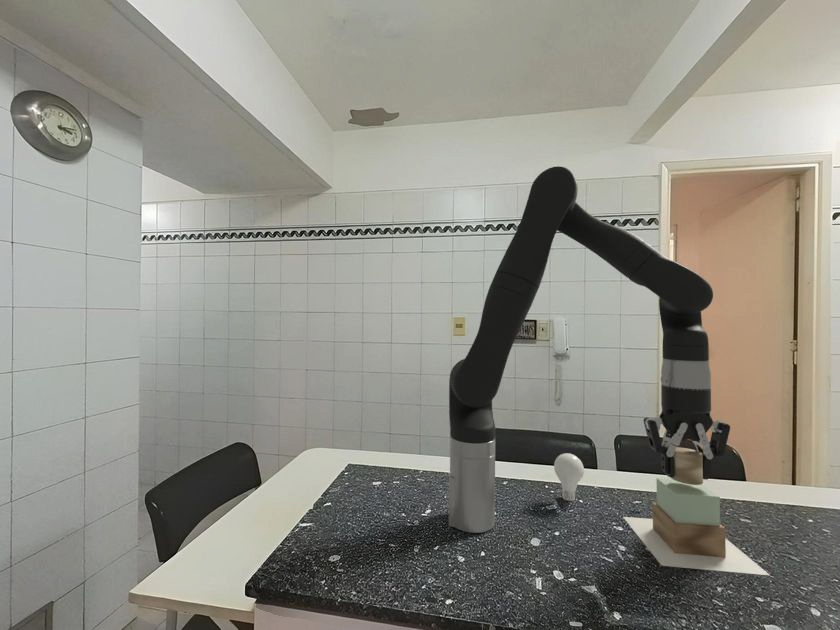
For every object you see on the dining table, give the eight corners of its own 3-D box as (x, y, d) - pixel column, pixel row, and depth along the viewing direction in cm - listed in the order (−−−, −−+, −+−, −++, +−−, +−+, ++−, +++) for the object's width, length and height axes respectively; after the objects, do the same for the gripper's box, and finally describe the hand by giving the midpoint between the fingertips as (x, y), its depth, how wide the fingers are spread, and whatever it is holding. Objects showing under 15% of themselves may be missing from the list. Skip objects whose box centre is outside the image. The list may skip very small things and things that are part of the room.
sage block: (676, 522, 66) (675, 493, 66) (656, 504, 73) (656, 477, 73) (720, 526, 65) (719, 496, 65) (696, 506, 72) (695, 480, 72)
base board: (661, 571, 62) (661, 565, 62) (622, 521, 78) (622, 516, 78) (770, 581, 59) (770, 575, 60) (707, 528, 75) (707, 523, 75)
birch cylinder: (678, 483, 67) (678, 455, 67) (664, 473, 72) (664, 446, 72) (709, 485, 66) (709, 457, 66) (692, 474, 71) (692, 448, 71)
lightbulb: (586, 510, 82) (586, 460, 82) (556, 507, 83) (556, 457, 84) (580, 497, 88) (580, 450, 88) (552, 495, 89) (552, 448, 90)
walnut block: (674, 553, 65) (674, 523, 65) (652, 528, 73) (652, 502, 73) (725, 557, 64) (725, 527, 64) (697, 532, 72) (697, 505, 72)
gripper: (653, 386, 67) (653, 482, 66) (742, 388, 65) (743, 488, 64) (635, 380, 74) (635, 466, 74) (714, 382, 72) (715, 471, 72)
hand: (686, 476), depth 69 cm, fingers closed on birch cylinder, 5 cm apart
